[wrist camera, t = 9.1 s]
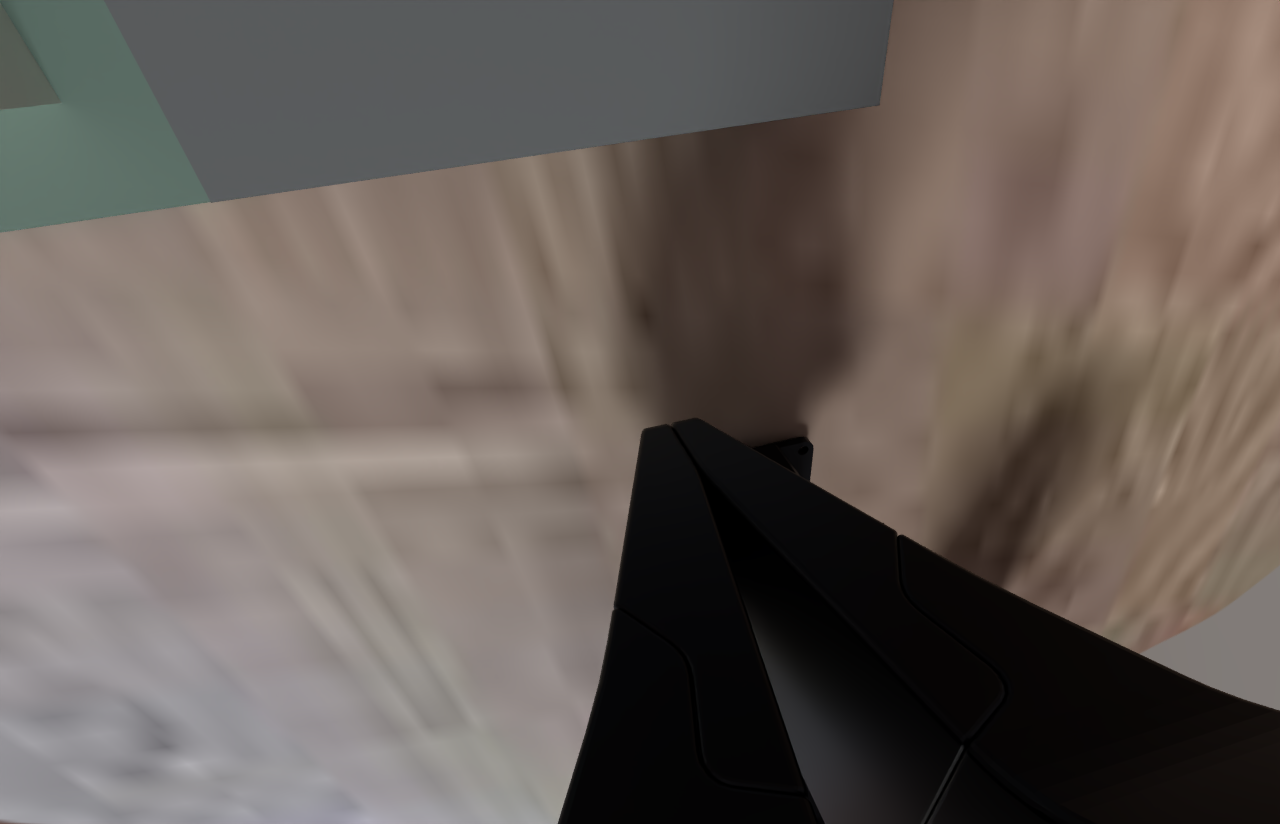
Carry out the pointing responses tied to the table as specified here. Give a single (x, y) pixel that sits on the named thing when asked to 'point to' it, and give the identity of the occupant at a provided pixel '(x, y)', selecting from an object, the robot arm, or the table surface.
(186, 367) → the table surface
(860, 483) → the table surface
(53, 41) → the mat
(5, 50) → the block
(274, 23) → the grey flat box
